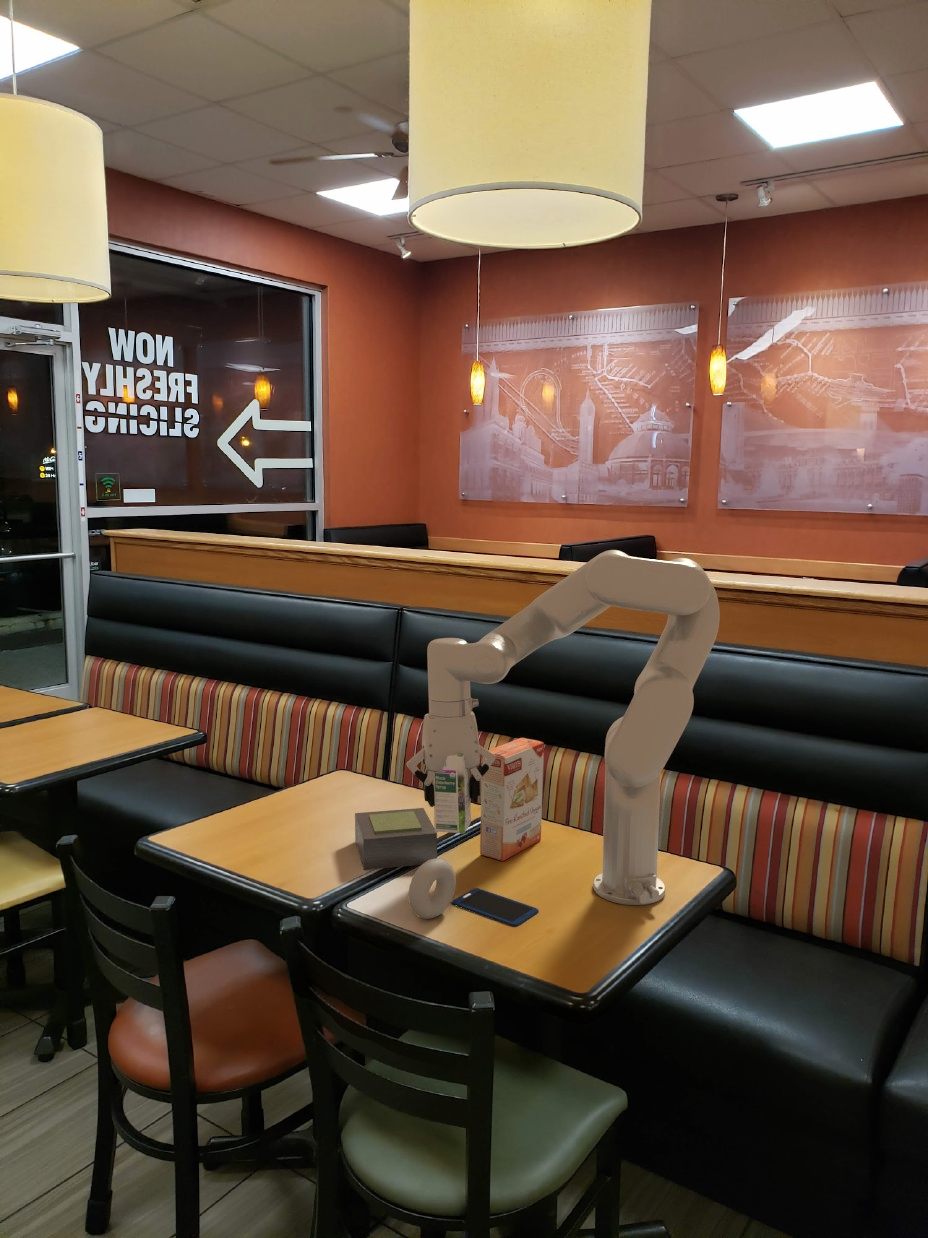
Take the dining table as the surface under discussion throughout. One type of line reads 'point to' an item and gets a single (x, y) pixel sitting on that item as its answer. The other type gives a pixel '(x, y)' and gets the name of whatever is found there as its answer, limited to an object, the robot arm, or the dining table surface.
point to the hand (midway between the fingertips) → (452, 801)
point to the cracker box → (512, 799)
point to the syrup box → (452, 796)
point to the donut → (422, 885)
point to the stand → (395, 838)
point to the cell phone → (495, 907)
